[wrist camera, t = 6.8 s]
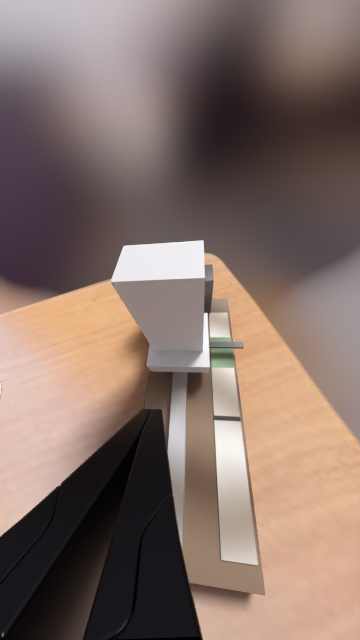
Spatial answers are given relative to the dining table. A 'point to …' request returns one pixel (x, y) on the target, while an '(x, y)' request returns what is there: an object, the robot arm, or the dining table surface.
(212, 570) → the base
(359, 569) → the dining table surface
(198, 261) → the slider
